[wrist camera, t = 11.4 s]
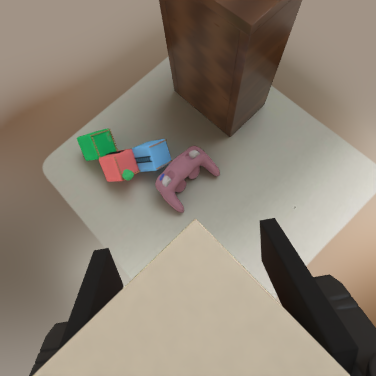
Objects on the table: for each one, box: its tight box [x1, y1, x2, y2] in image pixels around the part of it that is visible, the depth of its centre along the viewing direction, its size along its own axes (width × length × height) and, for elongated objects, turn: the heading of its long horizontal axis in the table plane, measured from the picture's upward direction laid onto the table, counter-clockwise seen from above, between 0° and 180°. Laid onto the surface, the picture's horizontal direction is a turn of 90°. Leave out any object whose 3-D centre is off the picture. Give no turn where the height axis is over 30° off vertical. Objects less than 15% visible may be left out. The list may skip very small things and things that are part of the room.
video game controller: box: [155, 146, 220, 212], centre depth 41 cm, size 10×5×7 cm, turn 136°
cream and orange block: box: [33, 219, 350, 376], centre depth 11 cm, size 6×6×11 cm
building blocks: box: [77, 129, 173, 182], centre depth 42 cm, size 8×8×12 cm
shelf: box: [159, 0, 302, 137], centre depth 37 cm, size 14×9×22 cm, turn 45°
